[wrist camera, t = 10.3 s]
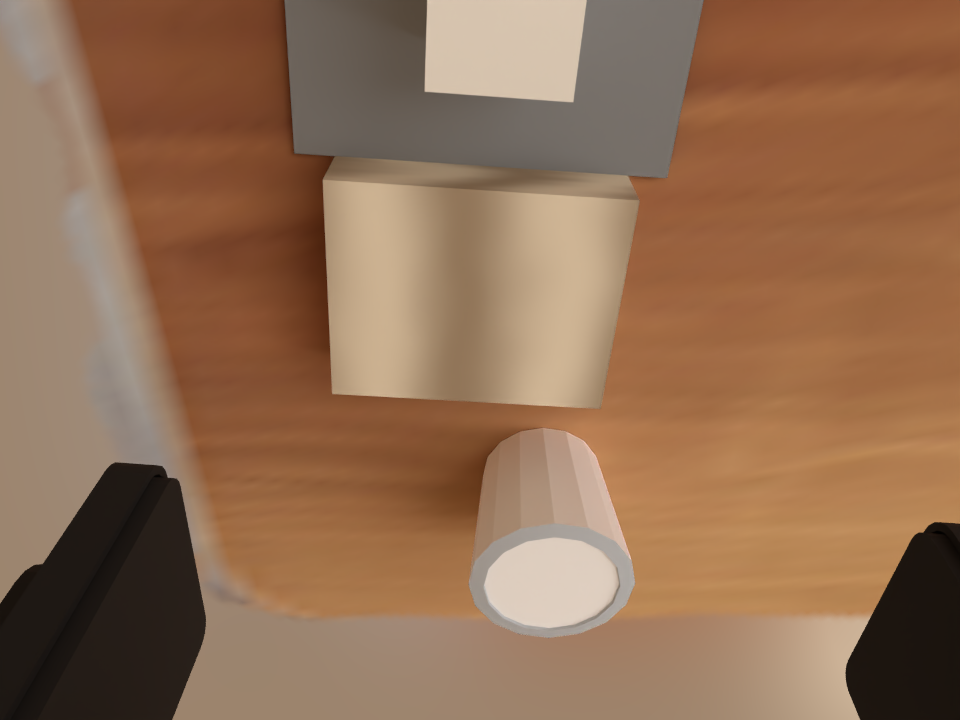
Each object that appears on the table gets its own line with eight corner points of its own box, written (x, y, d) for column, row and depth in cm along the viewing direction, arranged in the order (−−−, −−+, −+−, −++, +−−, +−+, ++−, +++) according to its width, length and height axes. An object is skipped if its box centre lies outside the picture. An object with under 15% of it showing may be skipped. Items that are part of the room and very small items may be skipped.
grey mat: (728, -137, 24) (731, -137, 24) (665, 174, 29) (667, 178, 29) (276, -174, 23) (273, -174, 23) (296, 150, 29) (294, 153, 28)
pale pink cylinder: (544, 391, 35) (556, 498, 29) (640, 472, 37) (670, 585, 31) (441, 474, 37) (433, 587, 32) (538, 544, 40) (548, 660, 34)
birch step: (625, 172, 29) (639, 200, 27) (591, 368, 34) (600, 408, 32) (336, 152, 29) (322, 179, 26) (343, 354, 34) (332, 393, 31)
